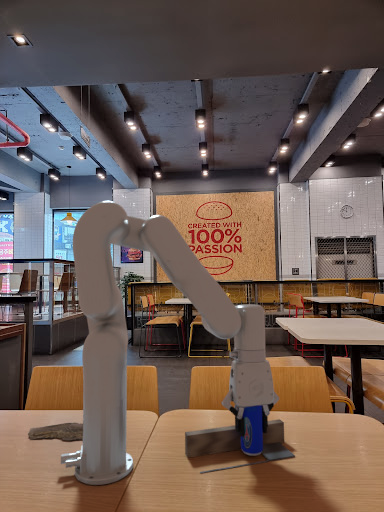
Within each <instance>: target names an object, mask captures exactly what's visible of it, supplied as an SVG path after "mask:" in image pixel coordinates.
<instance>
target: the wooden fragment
mask: <svg viewBox="0 0 384 512" xmlns="http://www.w3.org/2000/svg"><path fill="white" fill-rule="evenodd" d="M27 436H28V438H29V439H30V441H33V440H36V439H52V440H53V439H56V440H57V439H61V440H63V441H69V442H70V441H77V440H78V441H79V440H81V441H83V423H81V422H80V423H79V422H66V423H65V422H64V423H58V424H53V425H45V426H39V427H38V426H37V427H31V428H30V429H29V431H28V433H27Z"/></svg>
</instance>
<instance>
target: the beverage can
mask: <svg viewBox="0 0 384 512" xmlns="http://www.w3.org/2000/svg"><path fill="white" fill-rule="evenodd" d="M242 418H243V419H244V428H245V436H243V437H241V449H240V450H241V451H242V452H243V453H244V454H245V455H248V456H251V457H252V456H256V457H257V456H260V455H262V454H261V452H262V451H263V432H262V406H253V407H244V411H243V415H242Z"/></svg>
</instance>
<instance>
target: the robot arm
mask: <svg viewBox="0 0 384 512" xmlns="http://www.w3.org/2000/svg"><path fill="white" fill-rule="evenodd" d="M112 245H115V246H118V247H119V246H120V247H124V248H129V249H132V250H133V249H134V250H137V251H138V250H139V251H143V252H148V253H150V254H151V255H152V257H153V258H154V260H155V261H156V263H157V264H158V265H159V267H160V268H161V269H162V271H163V272H164V274H165V275H166V277H167V278H168V280H169V281H170V282H171V283H172V285H173V286H174V287H175V288H176V289H177V290H178V291H179V292H181V293H182V294H183V295H184V296H185V297H186V298H187V299H188V300H189V302H190V303H191V304H192V305H193V307H194V308H195V309H196V311H197V312H198V313H199V315H200V316H201V317H200V318H201V324H202V326H203V327H204V329H205V330H206V331H207V332H209V334H212V335H213V336H215V337H216V338H218V339H222V340H230V339H232V338H233V339H234V340H233V342H234V343H233V344H234V345H233V346H234V347H233V350H232V351H229V354H228V356H229V358H231V359H234V360H232V361H231V366H230V374H229V382H228V383H229V384H228V385H229V386H228V387H229V389H228V392H227V393H226V395H225V397H223V400H222V401H221V405H222V406H223V407H224V408H225V409H227V410H228V411H229V412H230V413H231V414H232V415H234V425H235V429H236V431H237V432H238V434H239V435H240V436H241V437H243V436H245V428H244V419H243V418H242V415H243V411H244V407H253V406H262V432H263V433H267V427H268V421H269V420H268V419H269V418H268V417H269V415H271V411H272V409H273V408H274V407H275V405H276V404H277V403H278V402H279V401H280V396H278V394H277V393H276V391H275V388H274V380H273V373H272V369H271V368H272V367H271V364H270V361H269V360H268V359H266V357H267V355H266V326H265V325H266V321H265V319H266V318H265V315H266V314H265V309H264V306H262V305H260V304H254V303H250V304H249V303H248V304H244V303H243V304H238V305H235V304H234V303H233V302H232V300H231V299H230V297H229V296H228V295H227V293H226V292H225V290H224V289H223V288H222V286H221V285H220V284H219V282H218V281H217V280H216V279H215V278H214V277H213V276H212V275H211V273H210V272H209V271H208V269H207V268H206V267H205V266H204V265H203V264H202V263H201V261H200V260H199V257H197V256H196V254H195V253H194V251H192V249H191V247H190V246H189V244H188V243H187V242H186V240H185V239H184V237H183V236H182V234H181V232H180V231H179V230H178V228H177V227H176V226H175V224H174V223H173V221H171V220H170V218H169V217H167V216H164V215H161V214H155V215H152V216H149V217H148V218H147V219H144V218H141V217H140V218H139V217H135V216H131V215H128V214H127V211H126V210H125V209H124V208H123V206H121V205H120V204H119V203H117V202H115V201H111V200H103V201H100V202H97V203H95V204H93V205H92V206H90V207H89V208H88V209H86V210H85V212H83V214H81V216H80V217H79V219H78V221H77V222H76V225H75V227H74V229H73V235H72V253H73V260H74V269H75V270H74V271H75V272H74V273H75V278H76V279H75V280H76V286H77V287H76V288H77V297H78V304H79V305H78V306H79V308H80V311H81V313H83V315H84V316H85V317H86V321H87V326H88V335H87V336H86V338H85V340H84V343H83V345H82V347H83V348H82V353H81V354H82V355H81V356H82V376H83V380H82V381H83V385H82V386H83V395H82V399H83V400H82V402H83V405H82V407H83V408H82V424H83V440H82V444H81V447H80V449H79V450H76V452H72V453H71V452H66V453H61V454H60V464H61V465H65V468H66V469H67V468H72V467H74V476H75V478H76V479H77V480H78V481H79V482H81V483H83V484H85V485H91V486H98V485H99V486H100V485H107V484H112V483H115V482H118V481H120V480H122V479H124V478H125V477H126V476H128V475H129V474H130V473H131V472H132V470H133V467H134V459H133V457H132V455H131V454H129V453H127V410H128V409H127V408H128V407H127V405H128V404H127V402H128V401H127V398H128V397H127V396H128V395H127V389H128V387H127V385H128V384H127V383H128V381H127V379H128V375H127V372H128V369H127V367H128V366H127V365H128V346H129V333H128V328H127V327H128V326H127V321H126V314H125V309H124V300H123V297H122V296H123V295H122V292H121V289H120V288H119V286H118V285H117V284H116V278H115V277H116V276H115V271H114V264H113V263H114V262H113V257H112V249H111V246H112ZM231 402H233V403H234V406H233V405H232V404H231Z"/></svg>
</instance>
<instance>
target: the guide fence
mask: <svg viewBox="0 0 384 512" xmlns="http://www.w3.org/2000/svg"><path fill="white" fill-rule="evenodd" d="M184 442H185V443H184V453H185V456H186V457H187V458H194V457H200V456H201V457H202V456H207V455H213V454H219V453H225V452H226V453H227V452H233V451H237V450H238V451H239V450H242V449H241V436H240V435H239V434H238V432H237V431H236V429H235V424H234V425H228V426H220V427H214V428H205V429H198V430H191V431H184ZM283 443H285V422H284V421H283V420H282V419H273V420H268V427H267V433H263V451H262V452H261V454H260V455H261V456H263V457H264V458H265V459H266V460H262V461H256V462H251V463H245V464H238V465H233V466H226V467H221V468H216V469H215V468H214V469H209V470H205V471H203V470H202V471H200V472H199V473H200V474H205V473H211V472H215V471H216V472H217V471H223V470H228V469H234V468H238V467H244V466H251V465H256V464H264V463H268V462H273V461H274V462H275V461H280V460H284V459H289V458H295V457H296V455H295V454H294V453H293V452H292V451H290V449H288V448H287V447H286V446H285V445H284V444H283Z"/></svg>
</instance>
